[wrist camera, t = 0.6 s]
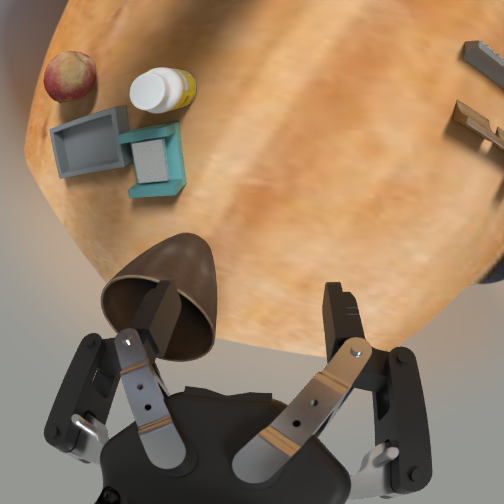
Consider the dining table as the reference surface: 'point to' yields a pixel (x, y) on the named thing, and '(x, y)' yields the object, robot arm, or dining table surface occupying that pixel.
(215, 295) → the plant pot
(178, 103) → the supplement bottle
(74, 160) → the trough
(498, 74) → the skate ramp
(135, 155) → the plate
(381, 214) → the dining table surface
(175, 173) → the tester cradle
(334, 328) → the robot arm
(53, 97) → the fruit
